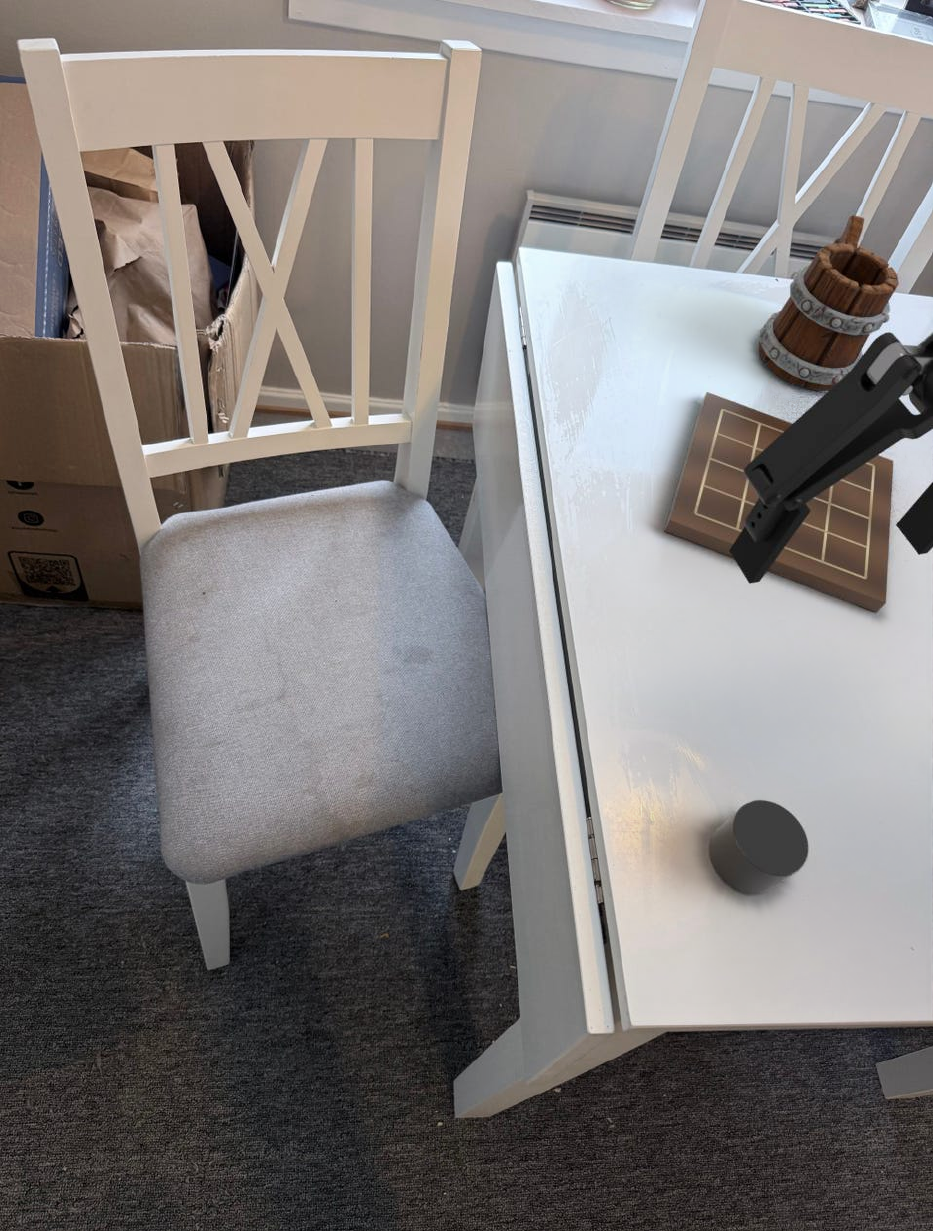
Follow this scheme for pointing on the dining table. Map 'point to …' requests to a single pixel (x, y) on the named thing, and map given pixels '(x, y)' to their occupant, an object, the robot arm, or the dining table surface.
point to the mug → (829, 313)
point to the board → (839, 518)
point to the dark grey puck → (758, 847)
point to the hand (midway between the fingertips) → (830, 552)
